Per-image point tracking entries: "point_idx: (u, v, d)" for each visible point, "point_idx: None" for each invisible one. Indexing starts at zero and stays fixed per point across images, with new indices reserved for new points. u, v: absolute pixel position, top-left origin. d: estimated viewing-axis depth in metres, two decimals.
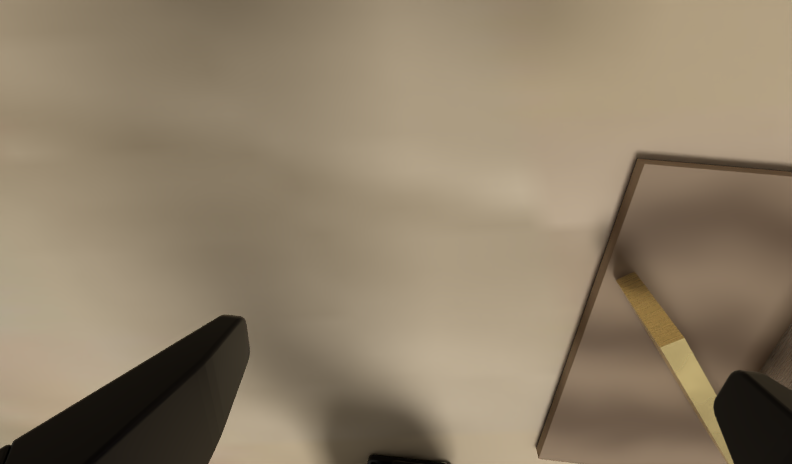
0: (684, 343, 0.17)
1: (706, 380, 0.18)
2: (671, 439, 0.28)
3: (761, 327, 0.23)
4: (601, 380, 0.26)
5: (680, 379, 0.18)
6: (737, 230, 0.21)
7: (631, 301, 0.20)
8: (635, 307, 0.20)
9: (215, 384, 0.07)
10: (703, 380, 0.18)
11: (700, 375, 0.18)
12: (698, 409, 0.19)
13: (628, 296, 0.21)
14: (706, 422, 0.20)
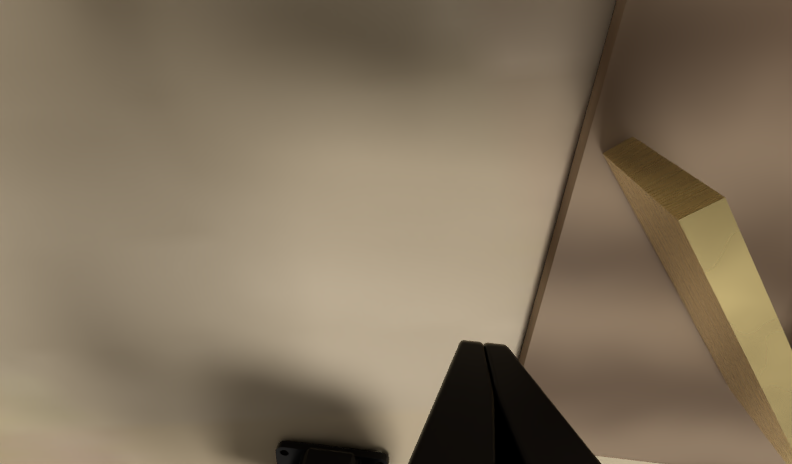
0: (724, 209, 0.09)
1: (761, 287, 0.10)
2: (685, 415, 0.20)
3: None
4: (584, 326, 0.18)
5: (714, 286, 0.10)
6: None
7: (626, 171, 0.12)
8: (633, 177, 0.12)
9: None
10: (755, 287, 0.10)
11: (751, 277, 0.10)
12: (743, 344, 0.11)
13: (622, 166, 0.13)
14: (755, 369, 0.11)
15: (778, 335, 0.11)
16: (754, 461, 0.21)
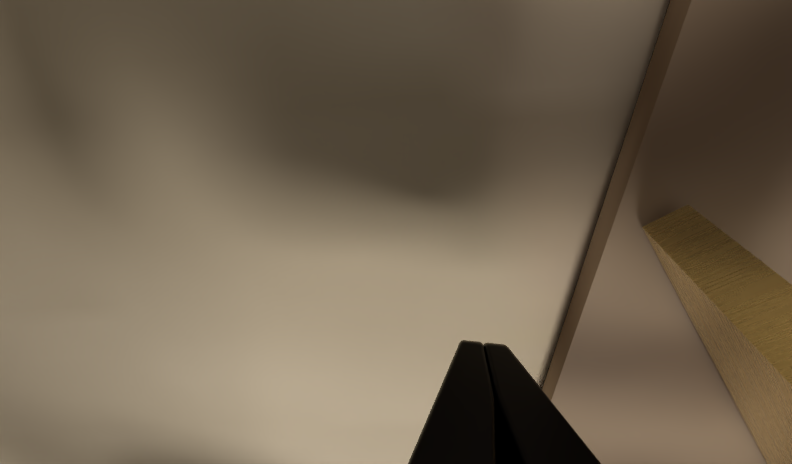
0: None
1: None
2: None
3: None
4: (605, 438, 0.13)
5: None
6: None
7: (688, 271, 0.08)
8: (702, 285, 0.07)
9: None
10: None
11: None
12: None
13: (678, 259, 0.08)
14: None
15: None
16: None
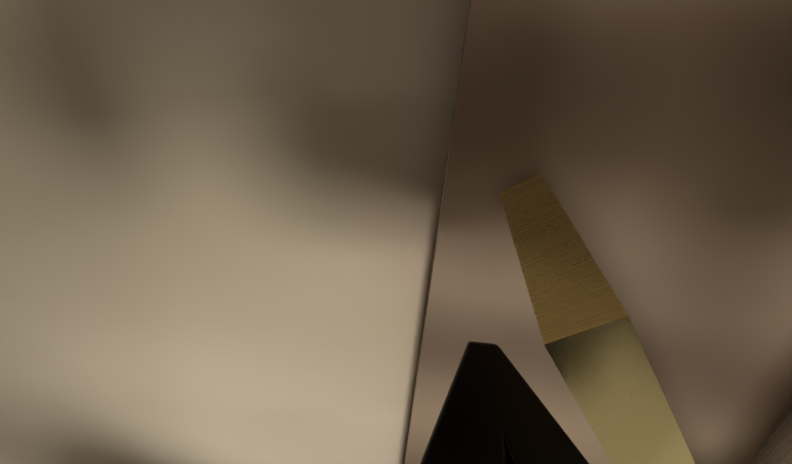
0: (627, 336, 0.05)
1: None
2: None
3: (786, 333, 0.11)
4: None
5: (610, 453, 0.06)
6: (736, 89, 0.08)
7: (513, 228, 0.08)
8: (517, 240, 0.07)
9: None
10: (681, 463, 0.06)
11: (673, 447, 0.06)
12: None
13: (511, 219, 0.08)
14: None
15: None
16: None
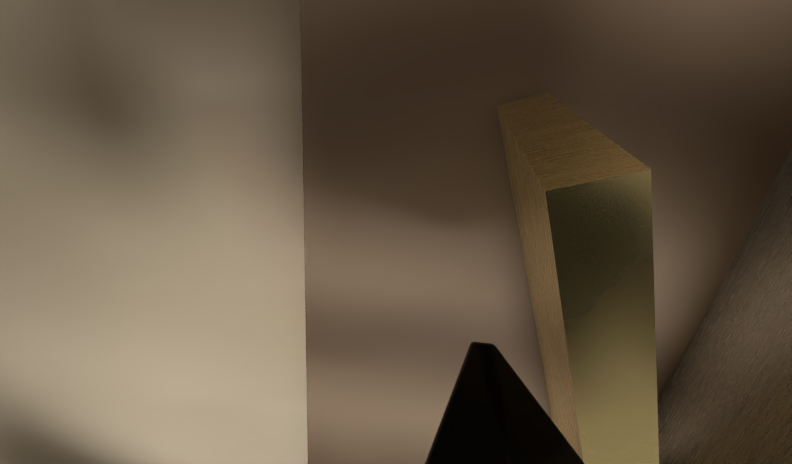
0: (641, 197, 0.04)
1: (651, 380, 0.05)
2: None
3: None
4: (366, 418, 0.14)
5: (572, 353, 0.05)
6: (555, 87, 0.09)
7: (511, 124, 0.07)
8: (515, 130, 0.07)
9: None
10: (642, 378, 0.05)
11: (641, 356, 0.05)
12: None
13: (509, 119, 0.07)
14: None
15: None
16: None
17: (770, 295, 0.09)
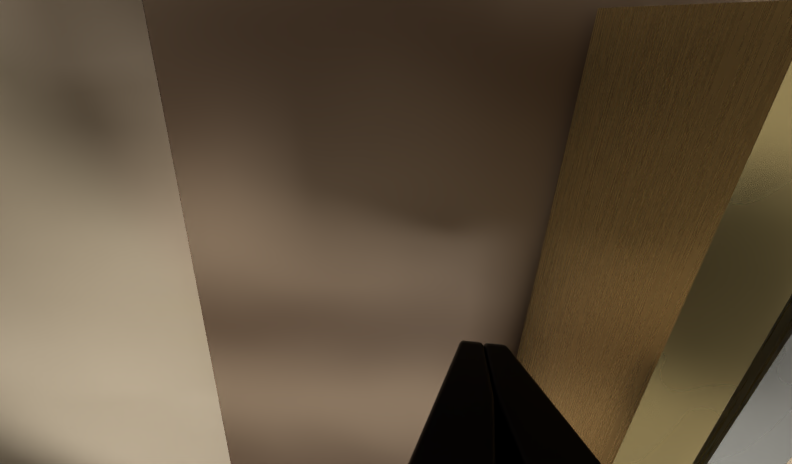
0: None
1: (778, 307, 0.04)
2: None
3: None
4: (278, 405, 0.14)
5: (712, 251, 0.04)
6: (406, 56, 0.09)
7: None
8: (662, 6, 0.06)
9: None
10: (769, 301, 0.04)
11: (786, 272, 0.04)
12: (643, 405, 0.05)
13: (636, 7, 0.06)
14: (620, 457, 0.06)
15: (705, 418, 0.05)
16: None
17: None
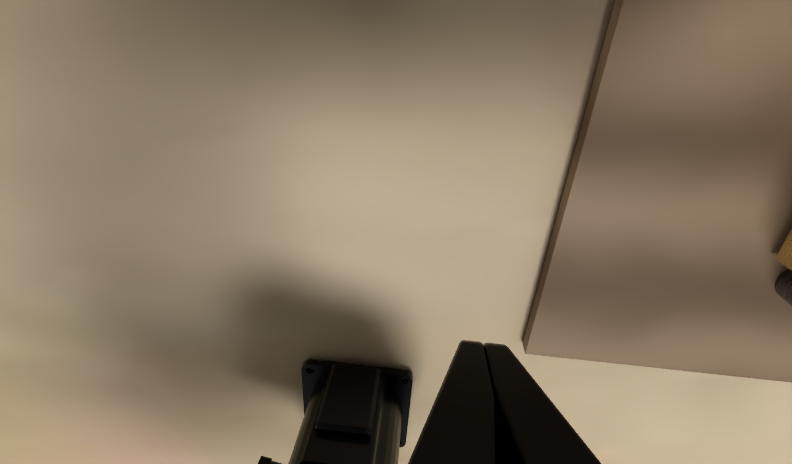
0: None
1: None
2: (707, 315, 0.20)
3: None
4: (611, 219, 0.18)
5: None
6: None
7: None
8: None
9: None
10: None
11: None
12: None
13: None
14: None
15: None
16: (773, 365, 0.21)
17: None
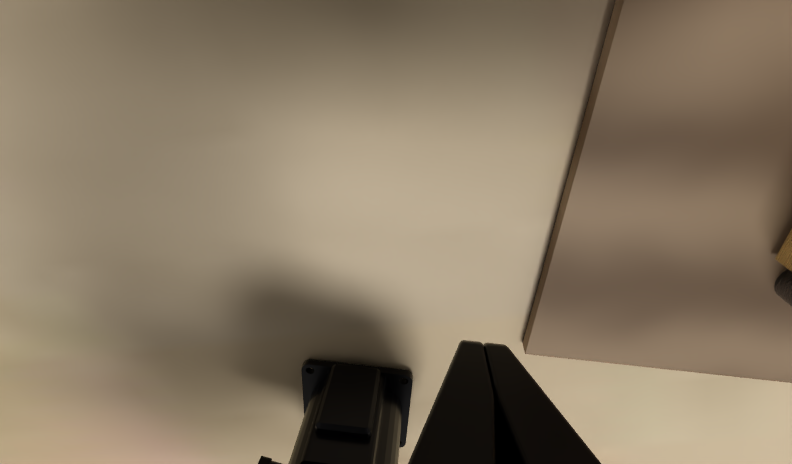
0: None
1: None
2: (707, 316, 0.20)
3: None
4: (611, 219, 0.18)
5: None
6: None
7: None
8: None
9: None
10: None
11: None
12: None
13: None
14: None
15: None
16: (773, 365, 0.21)
17: None
